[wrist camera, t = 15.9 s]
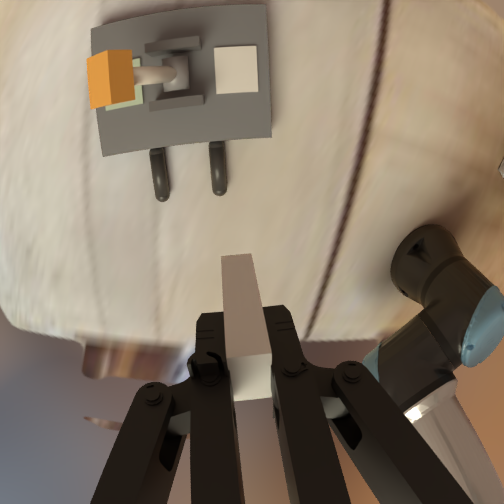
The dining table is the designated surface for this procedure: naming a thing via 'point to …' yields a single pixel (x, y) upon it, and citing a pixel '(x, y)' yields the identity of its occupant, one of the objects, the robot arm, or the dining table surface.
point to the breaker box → (201, 85)
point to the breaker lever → (130, 76)
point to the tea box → (502, 168)
